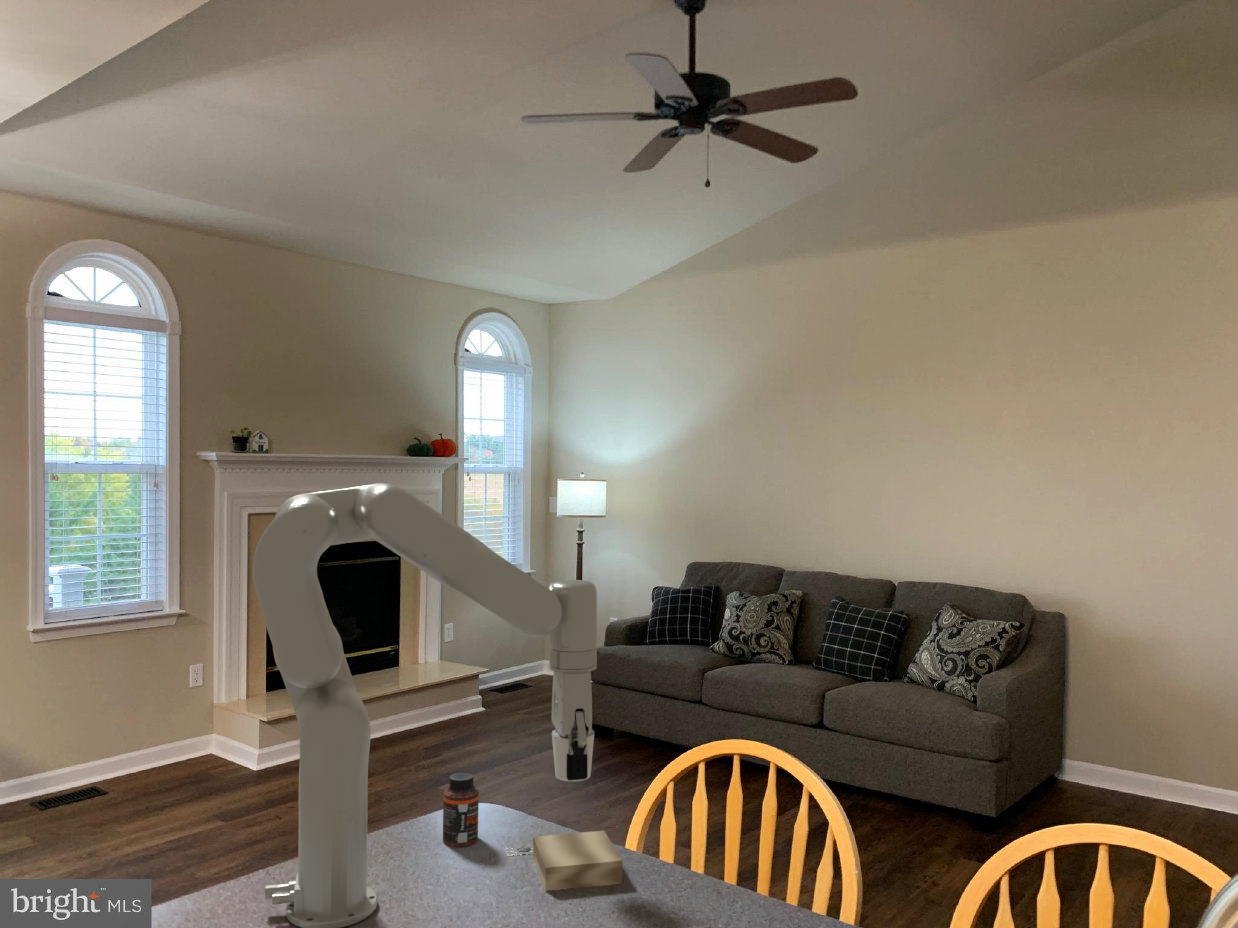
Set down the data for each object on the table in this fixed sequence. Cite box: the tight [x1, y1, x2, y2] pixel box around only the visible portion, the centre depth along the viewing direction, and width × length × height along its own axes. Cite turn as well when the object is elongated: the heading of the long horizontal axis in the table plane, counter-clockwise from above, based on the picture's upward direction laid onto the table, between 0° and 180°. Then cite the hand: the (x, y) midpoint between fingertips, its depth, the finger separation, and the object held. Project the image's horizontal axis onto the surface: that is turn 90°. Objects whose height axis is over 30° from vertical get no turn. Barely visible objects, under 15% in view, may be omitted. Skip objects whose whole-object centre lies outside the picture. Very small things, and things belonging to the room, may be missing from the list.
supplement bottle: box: [442, 772, 480, 848], centre depth 161 cm, size 6×6×11 cm
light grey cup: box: [551, 728, 595, 782], centre depth 150 cm, size 7×7×7 cm
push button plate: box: [505, 845, 533, 857], centre depth 157 cm, size 6×4×1 cm, turn 104°
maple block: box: [532, 830, 623, 892], centre depth 150 cm, size 12×12×4 cm
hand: (573, 771), depth 150 cm, fingers closed on light grey cup, 5 cm apart
